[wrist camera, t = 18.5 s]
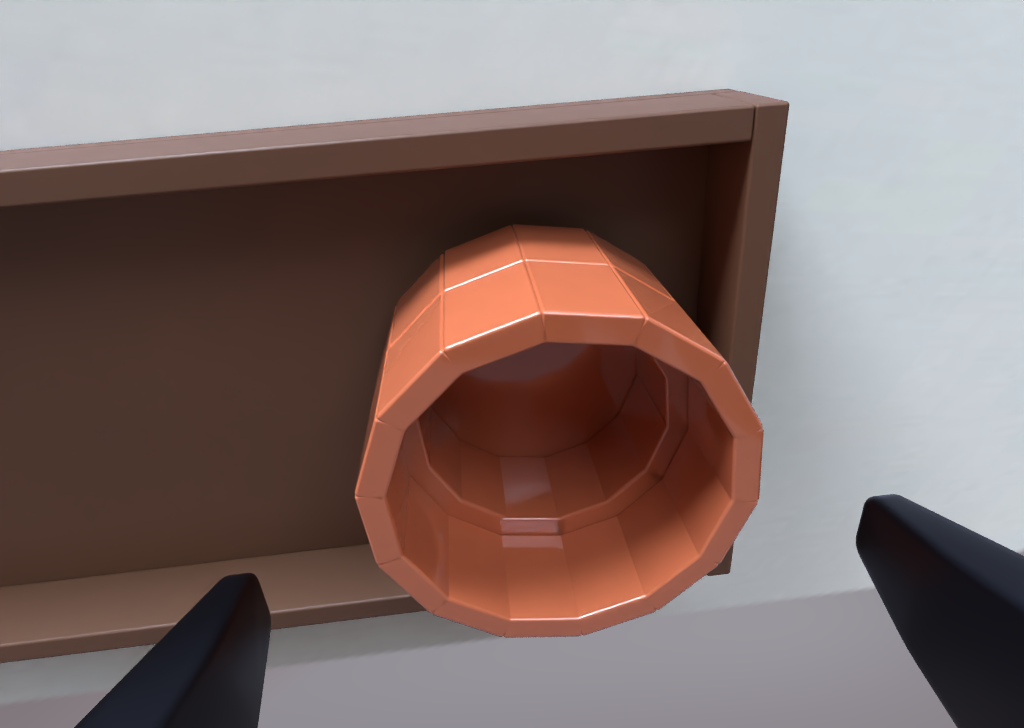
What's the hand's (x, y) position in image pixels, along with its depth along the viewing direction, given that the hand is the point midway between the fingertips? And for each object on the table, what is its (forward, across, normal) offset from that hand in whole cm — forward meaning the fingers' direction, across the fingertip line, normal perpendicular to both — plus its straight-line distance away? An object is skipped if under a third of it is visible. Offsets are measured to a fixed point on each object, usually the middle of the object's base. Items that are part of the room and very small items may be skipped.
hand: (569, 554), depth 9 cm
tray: (+7, +7, 0) cm, 10 cm away
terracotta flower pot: (+6, 0, 0) cm, 6 cm away
